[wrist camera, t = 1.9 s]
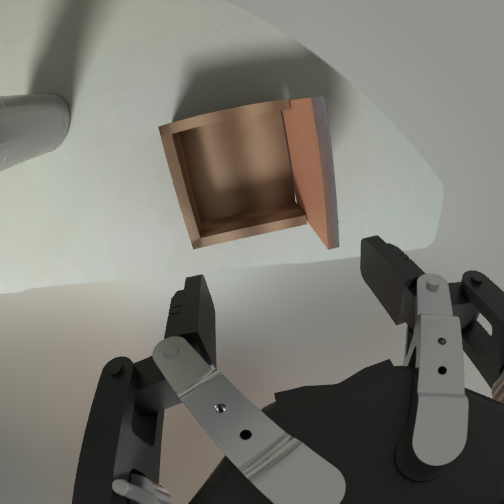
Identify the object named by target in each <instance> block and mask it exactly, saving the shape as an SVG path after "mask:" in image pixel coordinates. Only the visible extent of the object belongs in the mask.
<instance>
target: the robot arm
mask: <svg viewBox="0 0 504 504" xmlns="http://www.w3.org/2000/svg"><path fill="white" fill-rule="evenodd" d="M69 123H70V115H69V109H68V106H67V104H66V102H65V101H64V100H63V99H62V98H61V97H59V96H58V95H54V94H33V95H14V96H1V97H0V171H2V170H5V169H7V168H9V167H12V166H14V165H16V164H19V163H21V162H24V161H26V160H29V159H31V158H34V157H37V156H39V155H42V154H45V153H48V152H50V151H52V150H54V149H56V148H57V147H58V146H59V145H60V144H61V143H62V142H63V140H64V138H65V137H66V134H67V132H68V128H69ZM360 264H361V265H360V269H361V274H362V277H363V279H364V281H365V282H366V284H367V285H368V286H369V288H370V289H371V290H372V292H373V293H374V294H375V296H376V297H377V298H378V300H379V301H380V303H381V304H382V305H383V307H384V308H385V310H386V311H387V312H388V314H389V315H390V317H391V318H392V320H393V321H394V323H395V324H396V325H399V324H401V323H404V322H406V323H407V329H406V338H405V349H404V359H403V366H393V364H392V362H391V361H390V359H389V360H386V361H383V362H380V363H378V364H375V365H372V366H369V367H366V368H364V369H362V370H361V371H359V372H357V373H356V374H354V375H352V376H351V377H349V378H347V379H346V380H344V381H342V382H340V383H338V384H333V385H318V386H303V387H299V388H295V389H291V390H287V391H282V392H278V393H274V394H275V399H276V402H274V403H271V404H269V405H267V406H266V407H264V408H263V409H262V410H260V409H258V408H257V407H256V406H255V405H254V404H253V403H252V402H251V401H250V400H249V399H248V398H246V397H245V396H244V395H243V394H242V393H241V392H240V391H239V390H238V389H237V388H236V387H235V386H234V385H233V384H232V383H231V382H230V381H229V380H228V379H227V378H226V377H225V376H224V375H223V374H222V373H221V372H220V371H218V370H217V369H216V334H215V332H216V331H215V309H214V304H213V301H212V298H211V295H210V292H209V290H208V287H207V284H206V281H205V278H204V276H203V275H197V276H192V277H187V278H186V281H185V287H184V290H180V291H177V292H176V293H175V295H174V296H173V298H172V299H171V304H170V309H169V316H168V320H167V326H166V331H165V337H164V340H162V341H160V342H159V343H158V344H157V345H156V346H155V348H154V350H153V353H152V356H151V357H149V358H146V359H144V360H141V361H139V362H136V363H133V362H132V361H131V360H130V359H129V358H127V357H117V358H114V359H112V360H111V361H109V362H108V363H107V364H106V365H105V366H104V368H103V370H102V373H101V376H100V379H99V383H98V386H97V389H96V392H95V396H94V399H93V403H92V407H91V410H90V414H89V418H88V422H87V426H86V430H85V434H84V439H83V443H82V448H81V452H80V457H79V463H78V468H77V473H76V479H75V485H74V492H73V500H72V504H172V499H171V495H170V493H169V492H168V490H167V489H166V488H165V487H163V486H162V485H160V484H159V469H160V454H161V441H162V440H161V439H162V428H163V419H164V409H167V408H169V407H172V406H174V405H177V404H179V403H182V402H183V404H184V405H185V406H186V408H187V409H188V410H189V412H190V413H191V414H192V415H193V417H194V418H195V419H196V421H197V422H198V423H199V424H200V426H201V427H202V428H203V429H204V430H205V432H206V433H207V434H208V435H209V437H210V438H211V439H212V440H213V441H214V442H215V444H216V445H217V446H218V447H219V448H220V449H221V450H222V451H223V453H224V454H225V456H224V457H223V459H222V460H221V462H220V463H219V464H218V466H217V467H216V468H215V470H214V471H213V473H212V474H211V475H210V476H209V478H208V479H207V480H206V482H205V483H204V484H203V486H202V487H201V488H200V489H199V491H198V492H197V493H196V495H195V496H194V497H193V498H192V500H191V501H190V502H189V503H188V504H504V292H503V291H502V290H501V289H500V288H499V287H498V286H496V285H495V284H494V283H493V282H492V281H491V280H490V279H489V278H487V277H486V276H485V275H484V274H482V273H480V272H478V271H467V272H465V273H464V274H463V277H462V280H461V282H456V283H447V281H446V280H445V279H444V278H443V277H441V276H439V275H436V274H425V273H424V272H423V271H422V270H421V269H420V268H419V267H418V266H417V265H416V264H415V263H414V262H413V261H412V260H411V259H409V257H408V256H407V255H406V254H404V252H403V251H401V250H400V249H399V248H398V247H396V246H394V245H392V244H390V243H388V244H387V243H385V242H384V241H383V240H382V239H381V238H380V237H379V236H377V235H376V236H372V237H368V238H363V239H362V240H361V263H360ZM479 313H481V314H482V315H483V316H484V317H485V318H486V319H487V320H488V322H490V324H491V326H492V336H490V335H489V334H488V332H487V331H486V330H485V329H484V328H483V327H482V326H481V324H479V322H478V321H477V318H478V316H479ZM463 351H464V352H465V353H466V354H467V356H468V357H469V358H470V360H471V361H472V362H473V364H474V365H475V366H476V368H477V369H478V371H479V372H480V373H481V375H482V376H483V378H484V379H485V381H486V382H487V383H488V385H489V386H490V388H491V389H492V396H493V398H492V399H491V398H489V397H486V396H484V395H481V394H479V393H476V392H474V391H472V390H469V389H467V388H464V360H463Z"/></svg>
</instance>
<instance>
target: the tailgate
mask: <svg viewBox="0 0 504 504" xmlns="http://www.w3.org/2000/svg"><path fill="white" fill-rule="evenodd" d="M289 105H290V109H288V110H282V111H283V117H284V122H285V128H286V134H287V140H288V146H289V152H290V158H291V165H292V171H293V178H294V185H295V192H296V199H297V205H298V206H299V207H300V208H301V210H302V211H303V212H304V213H305V215H306V220H307V221H308V223H309V224H310V225H311V227H312V228H313V229H314V231H315V232H316V233H317V235H318V236H319V238H320V239H321V240H322V242H323V243H324V244H325V246H326V247H327V249H332V248H337V247H339V231H338V213H337V198H336V186H335V175H334V165H333V155H332V147H331V139H330V131H329V124H328V117H327V110H326V104H325V98H324V96H320V97H309V98H302V99H296V100H289Z"/></svg>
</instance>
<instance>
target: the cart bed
mask: <svg viewBox="0 0 504 504" xmlns="http://www.w3.org/2000/svg"><path fill="white" fill-rule="evenodd" d="M288 109H290V105H289V99H283V100H275V101H269V102H262V103H256V104H250V105H245V106H239V107H234V108H229V109H225V110H220V111H215V112H211V113H207V114H203V115H199V116H195V117H191V118H187V119H183V120H180V121H176V122H173V123H169V124H166V125H162V126H159V131H160V135H161V139H162V143H163V147H164V151H165V155H166V158H167V162H168V166H169V169H170V173H171V177H172V180H173V184H174V187H175V191H176V194H177V197H178V201H179V204H180V208H181V211H182V214H183V218H184V221H185V224H186V227H187V231H188V234H189V237H190V240H191V243H192V246H193V249H196V248H201V247H205V246H210V245H214V244H218V243H223V242H227V241H232V240H236V239H241V238H245V237H250V236H254V235H259V234H264V233H268V232H273V231H277V230H282V229H287V228H291V227H296V226H301V225H306V224H307V221H306V215H305V213H304V212H303V211H302V210H301V208H300V207H299V206H298V205H297V203H296V202H295V196H294V188H293V182H292V175H291V168H290V162H289V155H288V149H287V143H286V137H285V131H284V126H283V120H282V115H281V110H288Z"/></svg>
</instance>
